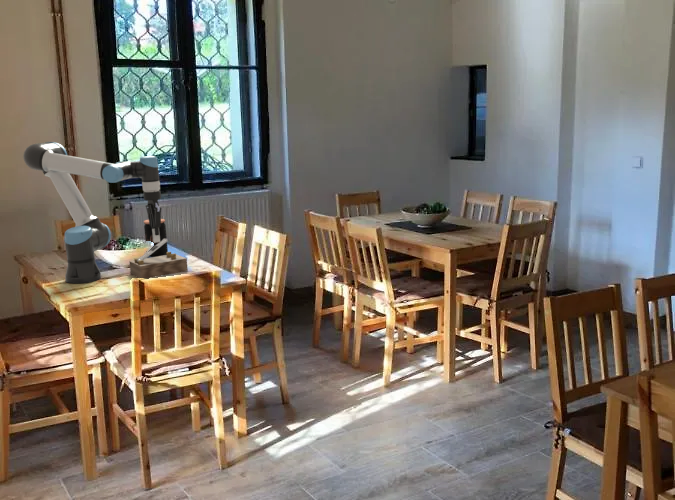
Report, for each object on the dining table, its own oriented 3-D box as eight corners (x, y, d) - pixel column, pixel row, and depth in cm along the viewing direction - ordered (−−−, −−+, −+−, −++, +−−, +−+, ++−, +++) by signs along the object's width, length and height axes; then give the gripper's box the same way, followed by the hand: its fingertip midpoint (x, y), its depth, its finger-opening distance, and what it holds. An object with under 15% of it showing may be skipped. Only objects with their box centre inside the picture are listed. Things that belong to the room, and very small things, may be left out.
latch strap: (139, 263, 321) (138, 261, 320) (137, 262, 323) (135, 260, 323) (168, 241, 327) (166, 238, 327) (165, 240, 330) (164, 237, 329)
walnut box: (141, 279, 317) (139, 261, 315) (130, 273, 328) (128, 256, 326) (187, 271, 329) (186, 253, 328) (175, 265, 341) (174, 249, 339)
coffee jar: (142, 256, 364) (139, 221, 360) (156, 252, 373) (153, 218, 369) (158, 257, 359) (155, 222, 355) (172, 253, 368) (169, 219, 364)
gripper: (165, 191, 317) (170, 242, 322) (154, 188, 328) (159, 238, 333) (149, 192, 313) (154, 245, 318) (138, 190, 324) (143, 241, 329)
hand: (156, 242), depth 326 cm, fingers closed
